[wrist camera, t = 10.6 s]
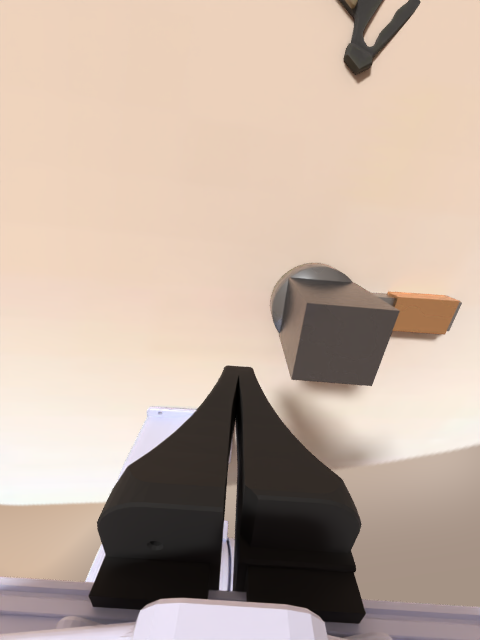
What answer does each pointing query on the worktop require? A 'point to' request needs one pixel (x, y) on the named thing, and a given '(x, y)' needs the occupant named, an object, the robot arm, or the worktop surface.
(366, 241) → the worktop surface
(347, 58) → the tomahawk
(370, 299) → the dark grey block
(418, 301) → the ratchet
